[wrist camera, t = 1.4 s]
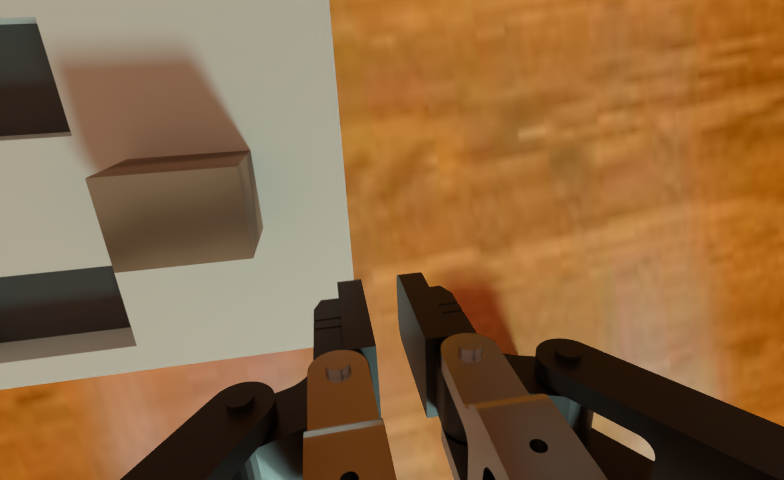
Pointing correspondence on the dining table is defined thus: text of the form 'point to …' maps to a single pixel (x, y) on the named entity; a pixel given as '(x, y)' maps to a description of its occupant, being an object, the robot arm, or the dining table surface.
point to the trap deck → (158, 139)
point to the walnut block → (178, 210)
